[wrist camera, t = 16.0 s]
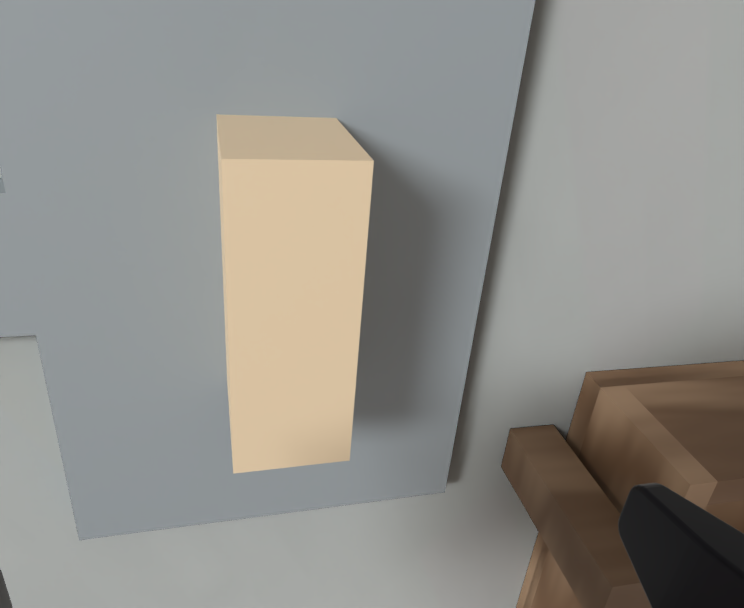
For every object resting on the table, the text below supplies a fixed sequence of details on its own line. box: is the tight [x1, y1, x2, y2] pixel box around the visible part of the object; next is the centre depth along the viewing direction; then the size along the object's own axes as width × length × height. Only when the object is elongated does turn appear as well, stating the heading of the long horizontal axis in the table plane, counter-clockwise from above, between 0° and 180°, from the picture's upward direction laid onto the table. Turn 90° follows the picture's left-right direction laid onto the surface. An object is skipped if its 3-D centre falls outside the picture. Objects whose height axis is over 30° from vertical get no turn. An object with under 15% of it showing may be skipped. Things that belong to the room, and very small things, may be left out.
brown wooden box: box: [501, 361, 744, 608], centre depth 26 cm, size 19×15×7 cm
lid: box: [0, 0, 535, 540], centre depth 16 cm, size 20×16×5 cm
